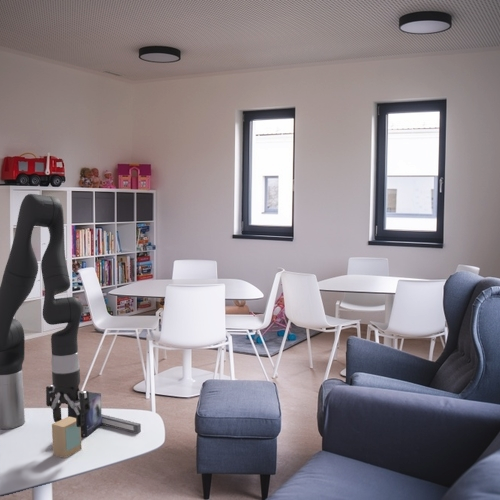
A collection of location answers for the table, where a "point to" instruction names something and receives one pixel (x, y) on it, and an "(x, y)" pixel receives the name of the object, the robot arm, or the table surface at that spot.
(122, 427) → the rail
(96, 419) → the small box
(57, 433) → the kraft carton
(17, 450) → the table surface
